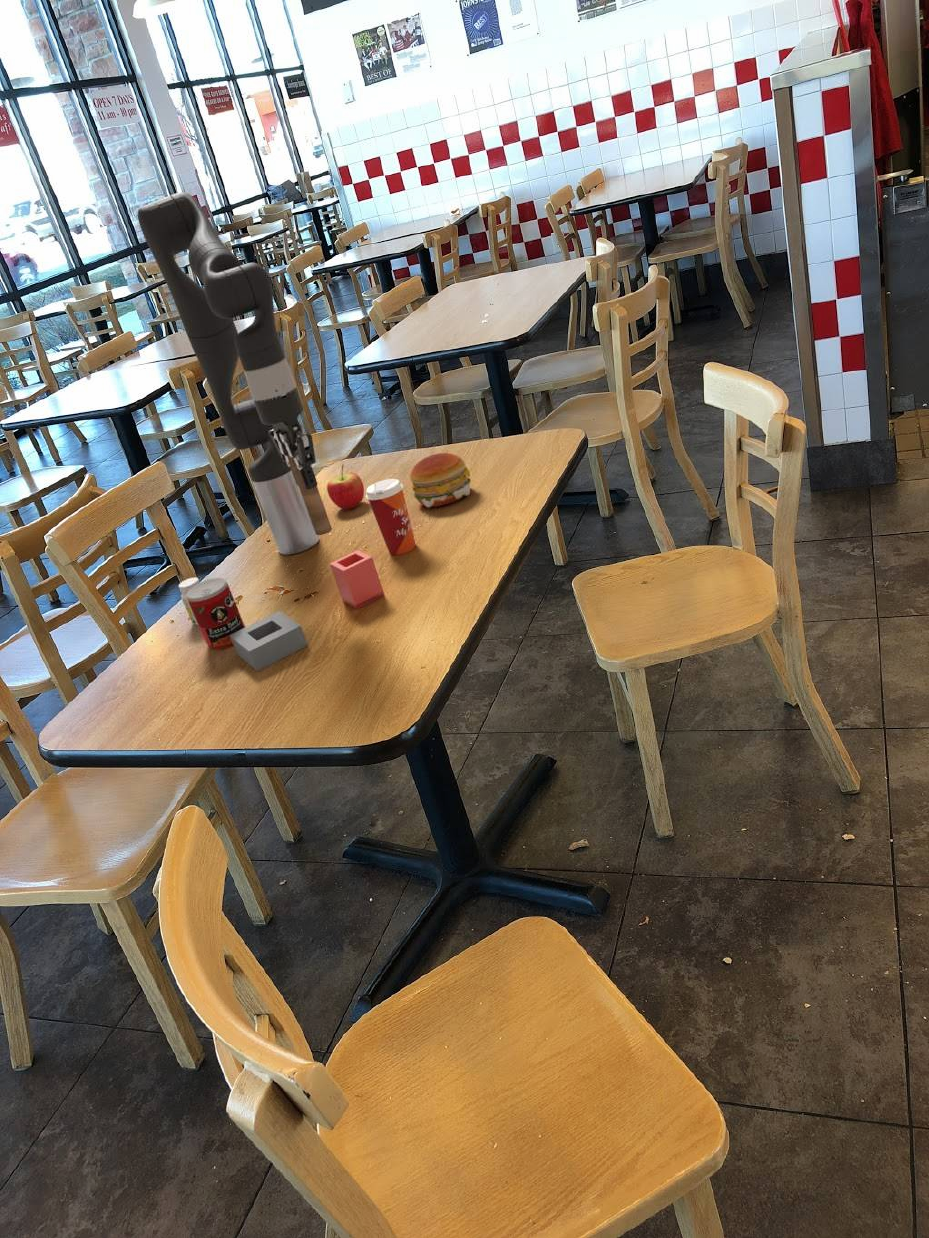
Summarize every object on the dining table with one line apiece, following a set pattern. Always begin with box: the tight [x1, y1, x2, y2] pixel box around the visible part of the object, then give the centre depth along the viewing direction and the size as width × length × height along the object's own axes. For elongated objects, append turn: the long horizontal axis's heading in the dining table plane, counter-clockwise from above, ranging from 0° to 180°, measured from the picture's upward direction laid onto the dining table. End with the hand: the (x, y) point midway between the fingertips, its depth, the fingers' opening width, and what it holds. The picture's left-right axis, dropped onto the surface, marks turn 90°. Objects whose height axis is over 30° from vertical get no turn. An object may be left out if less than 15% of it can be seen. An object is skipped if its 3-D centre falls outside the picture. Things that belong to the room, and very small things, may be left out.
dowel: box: [288, 450, 333, 536], centre depth 173 cm, size 3×3×15 cm
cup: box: [329, 549, 386, 610], centre depth 183 cm, size 6×6×8 cm
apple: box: [326, 463, 365, 510], centre depth 231 cm, size 8×8×10 cm
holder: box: [230, 610, 309, 672], centre depth 175 cm, size 10×10×4 cm
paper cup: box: [365, 478, 416, 556], centre depth 199 cm, size 8×8×14 cm
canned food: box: [186, 577, 246, 650], centre depth 182 cm, size 8×8×11 cm
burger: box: [409, 452, 471, 508], centre depth 219 cm, size 14×14×10 cm
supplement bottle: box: [178, 577, 201, 626], centre depth 194 cm, size 5×5×8 cm
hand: (307, 485), depth 173 cm, fingers closed on dowel, 3 cm apart
